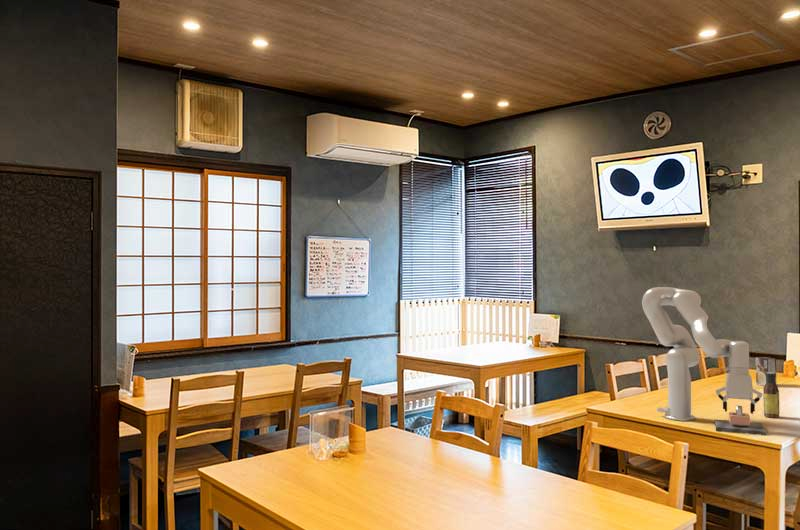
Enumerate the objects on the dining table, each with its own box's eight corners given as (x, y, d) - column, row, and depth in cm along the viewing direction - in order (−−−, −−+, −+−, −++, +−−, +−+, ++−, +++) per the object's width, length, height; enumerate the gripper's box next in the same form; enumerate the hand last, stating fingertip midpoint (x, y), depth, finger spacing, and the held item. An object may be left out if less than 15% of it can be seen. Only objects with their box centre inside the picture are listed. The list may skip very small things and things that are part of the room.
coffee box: (777, 386, 377) (777, 358, 377) (768, 387, 375) (768, 359, 375) (763, 383, 385) (763, 356, 386) (755, 384, 383) (755, 357, 384)
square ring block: (730, 423, 271) (730, 415, 271) (729, 420, 277) (728, 412, 277) (749, 425, 268) (749, 416, 268) (748, 421, 275) (748, 413, 275)
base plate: (716, 430, 269) (716, 427, 269) (714, 422, 284) (714, 419, 284) (765, 435, 262) (765, 431, 262) (761, 426, 276) (761, 423, 276)
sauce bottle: (781, 418, 292) (781, 374, 292) (766, 418, 293) (766, 373, 294) (776, 415, 298) (776, 372, 299) (761, 415, 300) (761, 371, 300)
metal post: (731, 426, 271) (731, 406, 271) (731, 423, 277) (730, 404, 277) (747, 427, 269) (747, 407, 269) (746, 424, 274) (746, 405, 274)
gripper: (716, 370, 273) (716, 411, 273) (763, 373, 266) (763, 415, 266) (715, 368, 280) (715, 408, 280) (761, 371, 273) (761, 412, 273)
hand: (738, 412), depth 273 cm, fingers open, 9 cm apart
